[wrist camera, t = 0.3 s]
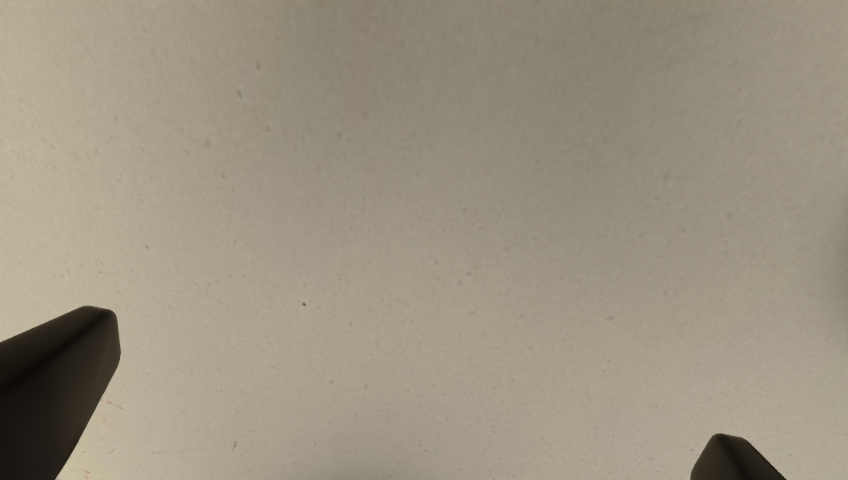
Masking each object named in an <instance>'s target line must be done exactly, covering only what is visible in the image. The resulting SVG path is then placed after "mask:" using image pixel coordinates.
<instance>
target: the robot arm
mask: <svg viewBox="0 0 848 480" xmlns="http://www.w3.org/2000/svg"><path fill="white" fill-rule="evenodd" d="M120 355H121V349H120V340H119V331H118V323H117V317H116V315H115V313H114V312H113V311H111V310H109V309H104V308H99V307H94V306H83V307H80V308H78V309H75V310H73V311H71V312H69V313H66V314H64V315H62V316H59V317H57V318H55V319H53V320H50V321H48V322H46V323H44V324H41V325H39V326H37V327H34V328H32V329H30V330H28V331H25V332H23V333H21V334H18V335H16V336H14V337H12V338H9V339H7V340H5V341H3V342H0V480H55V479H56V477H57V476H58V474H59V473H60V471H61V470H62V468H63V467H64V465H65V463H66V462H67V460H68V459H69V457H70V455H71V454H72V452H73V450H74V448H75V446H76V445H77V443H78V441H79V439H80V437H81V435H82V433H83V431H84V430H85V428H86V426H87V424H88V422H89V420H90V418H91V416H92V414H93V412H94V411H95V409H96V407H97V405H98V403H99V401H100V399H101V397H102V395H103V394H104V392H105V390H106V388H107V386H108V384H109V382H110V380H111V378H112V376H113V375H114V373H115V371H116V369H117V367H118V364H119V361H120ZM690 480H786V479H785V478H784V477H783V476H782V475H781V474H780V473H779V472H778V471H777V470H776V469H775V468H774V467H773V466H772V465H771V464H770V463H769V462H768V461H767V460H766V459H765V458H764V457H763V456H762V455H761V454H760V453H759V452H758V451H757V450H756V449H755V448H754V447H753V446H752V445H751V444H750V443H749V442H748V441H747V440H745V439H743V438H741V437H736V436H731V435H726V434H721V433H719V434H715V435H714V436H712V437H711V439H710V440H709V442H708V443H707V445H706V447H705V448H704V450H703V452H702V453H701V455H700V457H699V458H698V460H697V462H696V464H695V465H694V467H693V469H692V472H691V478H690Z"/></svg>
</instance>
